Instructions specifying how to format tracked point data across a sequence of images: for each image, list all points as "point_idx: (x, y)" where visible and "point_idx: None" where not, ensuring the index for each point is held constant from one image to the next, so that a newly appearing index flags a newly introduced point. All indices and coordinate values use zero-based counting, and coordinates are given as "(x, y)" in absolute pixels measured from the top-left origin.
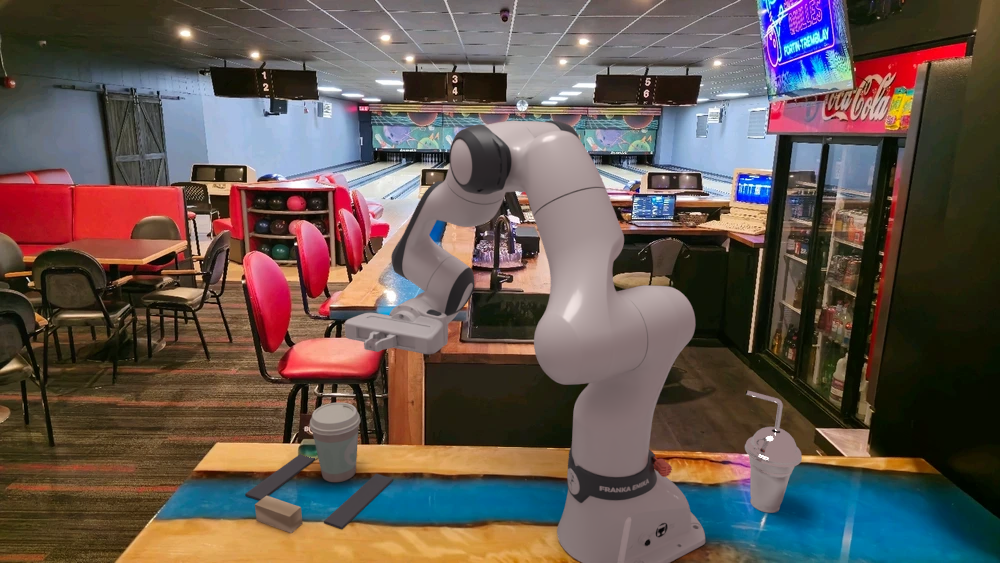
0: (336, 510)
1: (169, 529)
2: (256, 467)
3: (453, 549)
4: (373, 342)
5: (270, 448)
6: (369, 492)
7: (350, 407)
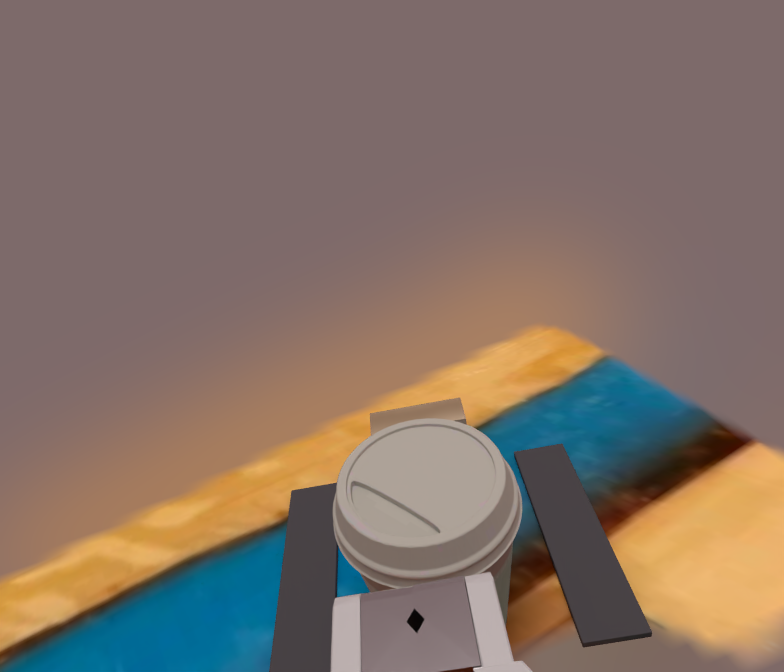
0: None
1: (568, 354)
2: (673, 513)
3: (40, 574)
4: (386, 595)
5: (773, 594)
6: (299, 601)
7: (399, 536)
